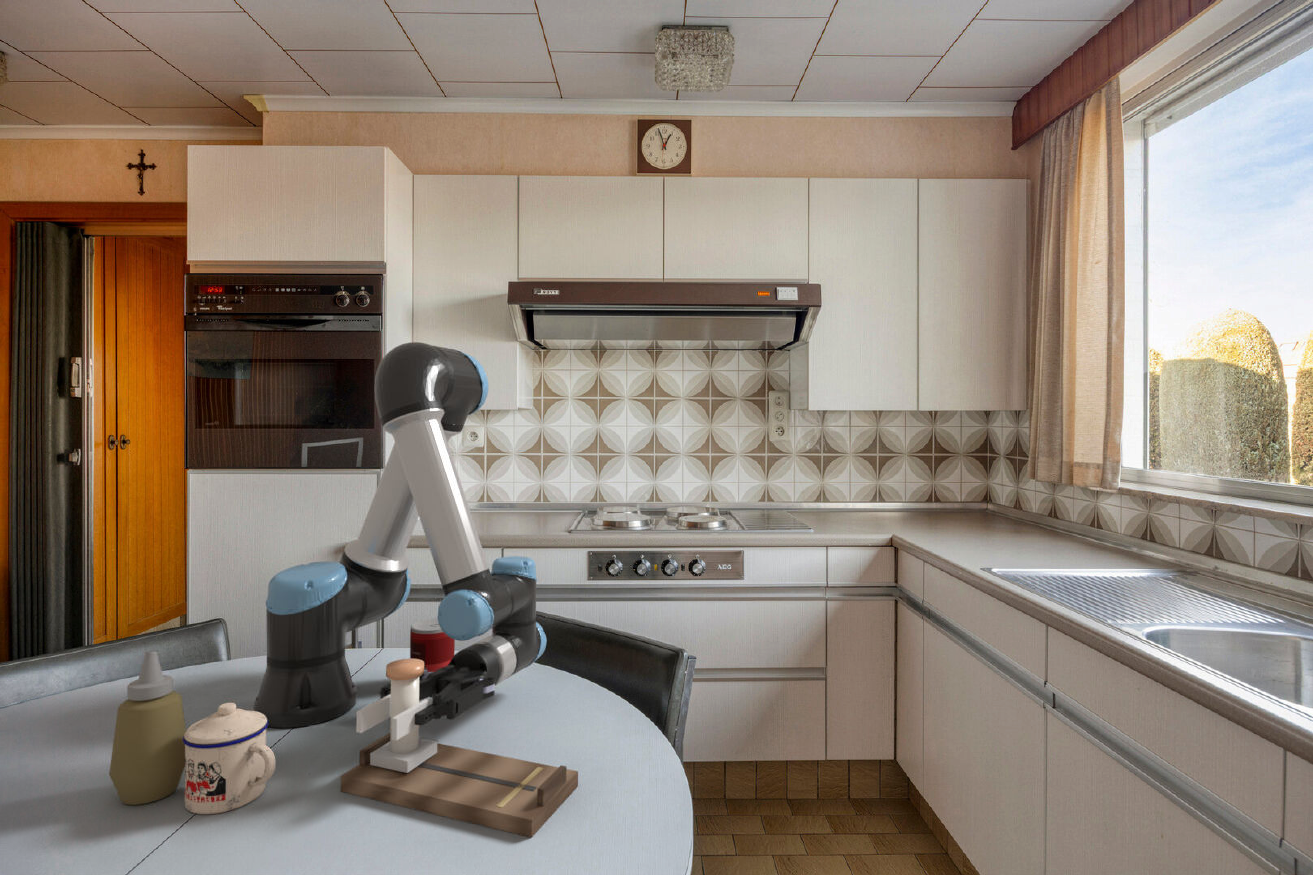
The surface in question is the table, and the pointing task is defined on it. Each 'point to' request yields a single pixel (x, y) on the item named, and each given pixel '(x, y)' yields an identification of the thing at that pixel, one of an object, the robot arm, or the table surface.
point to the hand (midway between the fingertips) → (376, 725)
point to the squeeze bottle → (148, 737)
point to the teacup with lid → (226, 760)
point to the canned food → (431, 644)
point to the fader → (403, 697)
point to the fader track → (468, 787)
